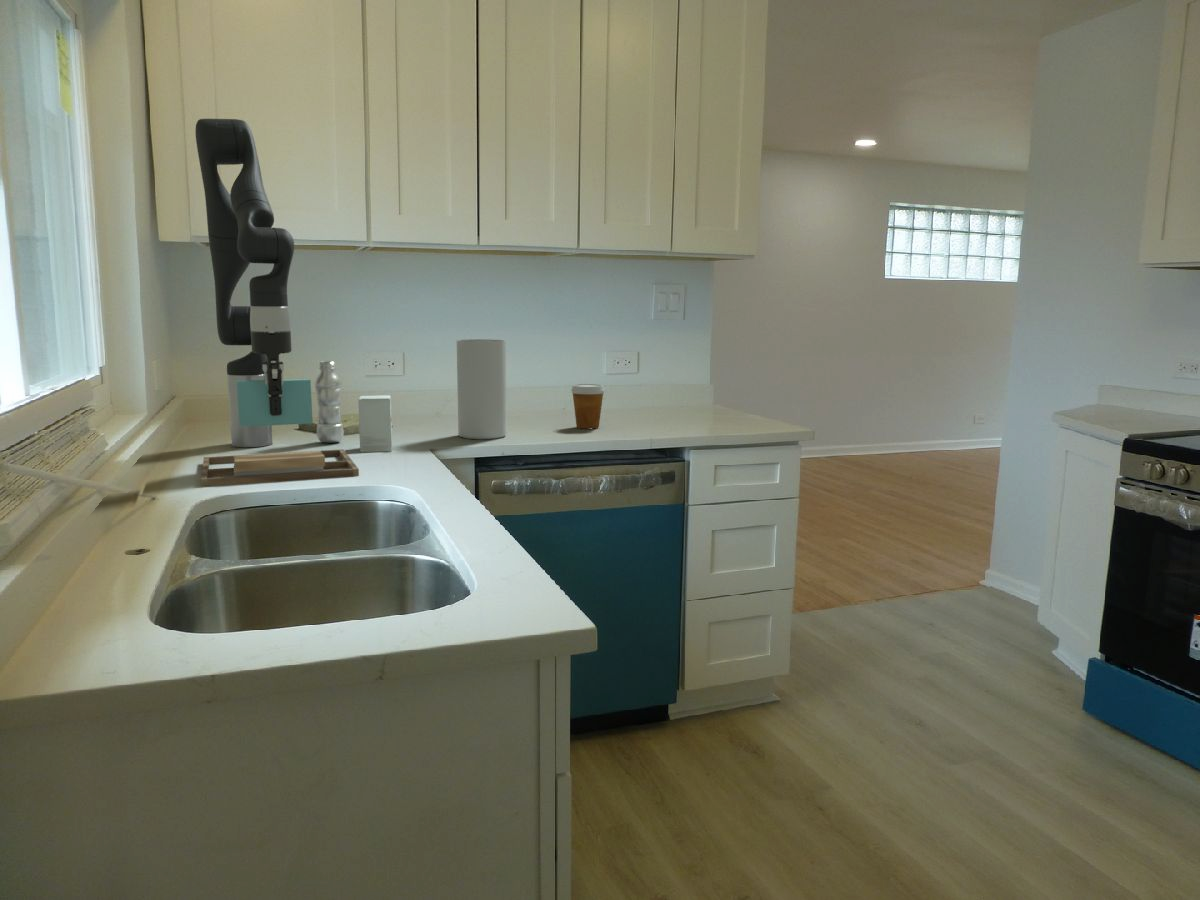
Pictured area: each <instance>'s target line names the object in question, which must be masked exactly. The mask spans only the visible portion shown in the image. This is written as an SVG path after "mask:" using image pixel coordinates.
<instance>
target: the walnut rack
mask: <svg viewBox="0 0 1200 900" xmlns="http://www.w3.org/2000/svg"><path fill="white" fill-rule="evenodd" d="M320 451H321V452H322V454H323V455H324V456H325V458H333V457H335V458H336V457H338V458H340V459H341V460H335V461H334V460H333V461H325V466H323V469H324V470H321V471H306V472H291V473H276V474H261V475H245V476H234V467H224V468H223V467H222V468H210V465H219V464H220V465H221V464H234V456H239V454H237V455H223V456H222V455H221V456H220V455H219V456H203V460H202V467H201V470H202V471H201V476H200V486H201V488H203V487H216V486H230V485H231V486H233V485H245V484H247V485H248V484H258V483H261V484H262V483H276V482H288V481H302V480H306V481H307V480H315V479H316V480H319V479H331V478H348V477H359V476H360V469H359V468H358V466H357V465H356V463H355V462H354V461H353V459H351V457H350V456H349V455H348V453H347V452H346V451H345V450H344V448H343V449H342V448H341V449H328V450H327V449H326V450H325V449H324V450H320ZM272 453H273V452H271V453H270V454H272ZM252 455H256V453H255V454H252Z"/></svg>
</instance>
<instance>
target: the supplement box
mask: <svg viewBox="0 0 1200 900" xmlns="http://www.w3.org/2000/svg"><path fill="white" fill-rule="evenodd" d="M357 400H358V414H359V432H360V434H359V452H360V453H379V452H380V453H381V452H385V453H386V452H392V449H393V428H392V426H393V421H392V420H393V419H392V396H391V395H389V394H387V395H384V394H383V395H382V394H381V395H360V396H359V398H358V399H357Z"/></svg>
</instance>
